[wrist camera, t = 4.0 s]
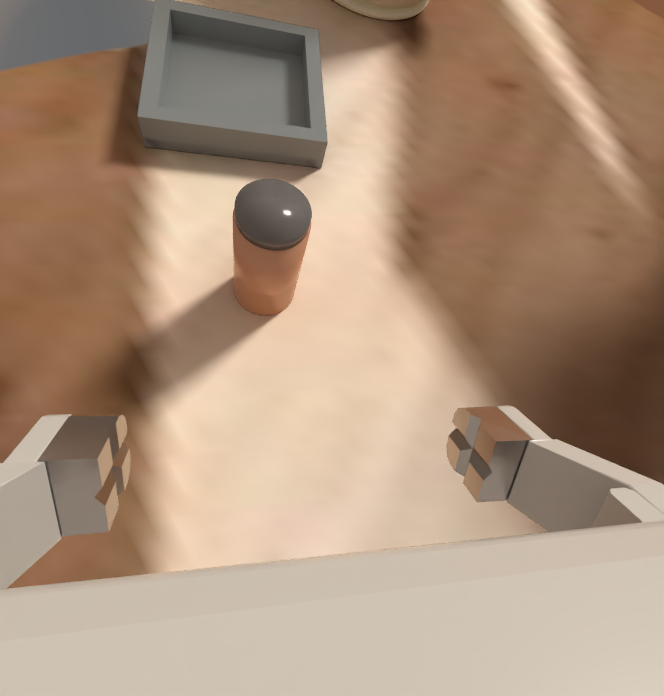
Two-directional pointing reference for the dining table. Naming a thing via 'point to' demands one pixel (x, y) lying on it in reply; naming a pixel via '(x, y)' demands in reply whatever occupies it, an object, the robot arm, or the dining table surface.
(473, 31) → the dining table surface
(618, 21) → the dining table surface
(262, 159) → the tray
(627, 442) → the dining table surface
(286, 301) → the terracotta jar
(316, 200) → the dining table surface
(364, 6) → the kettle
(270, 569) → the robot arm
